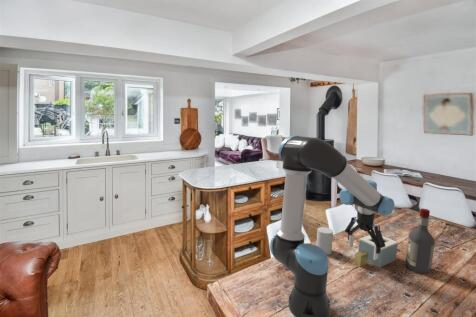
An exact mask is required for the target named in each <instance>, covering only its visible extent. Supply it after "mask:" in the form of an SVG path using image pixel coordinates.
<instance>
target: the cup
mask: <svg viewBox="0 0 476 317" xmlns="http://www.w3.org/2000/svg"><path fill="white" fill-rule="evenodd" d="M333 237H334V230H333V229H331V228H330V227H325V226H321V227H318V228H317V230H316V244H315V245H316V246H318V247H320V248H321V249H323V250H324V251H325V253H326V254H327V256H328V255H331V254H332V252H333V251H332V250H333V249H332V248H333V240H334V238H333Z"/></svg>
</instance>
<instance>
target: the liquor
mask: <svg viewBox="0 0 476 317" xmlns="http://www.w3.org/2000/svg"><path fill="white" fill-rule="evenodd" d="M429 218H430V209H427V208H420V210H419V219H418V225H417V228H415V229H413V230H412V231H411V230H410V232H409V233H408V238H407V239H408V240H407V245H406V255H405V265H406V266H407V268H408V269H409V270H410V271H412V272H414V273H419V274H425V275H427V274H429V273H430V272H432V265H433V260H434V259H433V258H434V250H435V243H436V240H435V238H434V236H433V235H432V234H431V233H430V232H429V229H428V227H429Z"/></svg>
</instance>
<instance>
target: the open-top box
mask: <svg viewBox="0 0 476 317" xmlns="http://www.w3.org/2000/svg"><path fill="white" fill-rule="evenodd" d="M382 237H383V240H384V243H385V247H383V248H381V251H380V253H379V254H378V259H376V260H374V259H373V256H374V246H376V245H375V243H374V242H373V240H372V238H371V236H370V235H366V236H362V237H361V238H359V243H358V252H360V251H365V252H368V262H369V263H370V264H372V265H374V266H376V267H378V268H382V267H384V266H386V265H389V264H391V263H393V262H394V261H396V260H397V253H398V246H399V244H398V243H399V242H398V241H396V240H393V239H391V238H389V237H387V236H384V235H382Z"/></svg>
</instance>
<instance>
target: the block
mask: <svg viewBox="0 0 476 317" xmlns="http://www.w3.org/2000/svg"><path fill="white" fill-rule="evenodd" d="M366 265H368V252H365V251H360V252H359V251H357V252H355V256H354V266H357V267H358V268H361V267H364V266H366Z"/></svg>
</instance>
